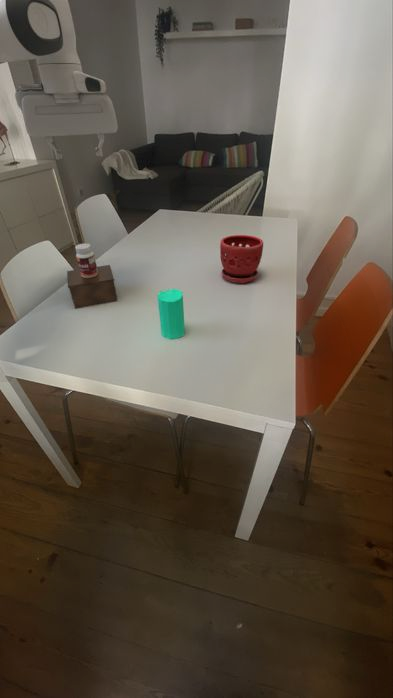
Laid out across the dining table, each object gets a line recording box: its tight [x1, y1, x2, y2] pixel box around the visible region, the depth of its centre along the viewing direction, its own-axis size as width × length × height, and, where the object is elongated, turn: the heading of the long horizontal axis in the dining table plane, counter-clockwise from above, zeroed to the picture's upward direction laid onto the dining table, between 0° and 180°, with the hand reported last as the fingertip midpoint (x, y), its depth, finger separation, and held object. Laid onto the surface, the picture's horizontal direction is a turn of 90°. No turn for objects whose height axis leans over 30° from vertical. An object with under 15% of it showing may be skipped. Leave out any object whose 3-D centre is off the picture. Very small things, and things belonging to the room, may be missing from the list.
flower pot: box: [219, 234, 264, 284], centre depth 100 cm, size 13×13×12 cm
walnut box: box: [66, 264, 118, 309], centre depth 93 cm, size 12×10×7 cm
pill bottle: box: [74, 243, 98, 278], centre depth 88 cm, size 5×5×8 cm
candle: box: [157, 288, 186, 340], centre depth 76 cm, size 6×6×12 cm
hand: (79, 157), depth 77 cm, fingers open, 8 cm apart
